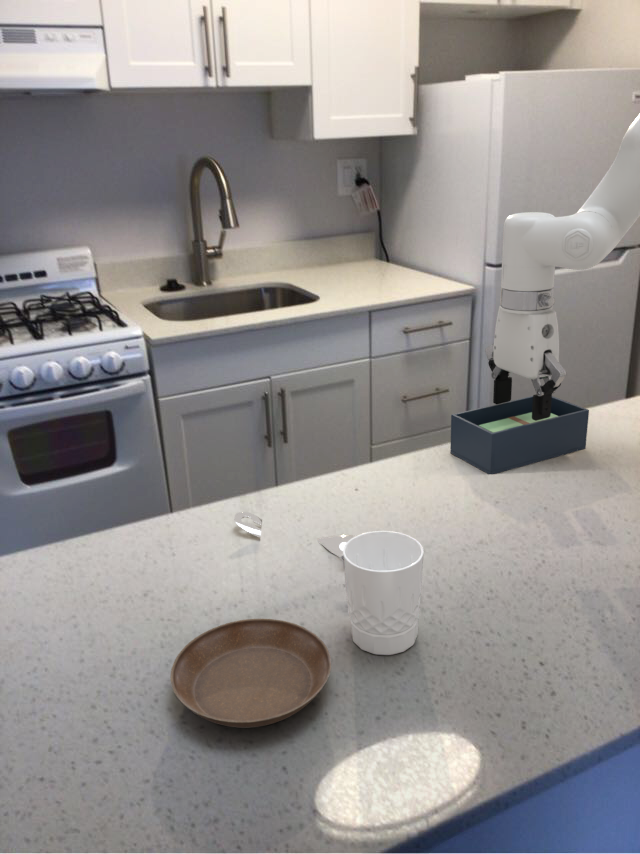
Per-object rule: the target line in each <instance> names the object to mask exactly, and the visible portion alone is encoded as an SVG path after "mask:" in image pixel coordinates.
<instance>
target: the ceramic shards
mask: <svg viewBox="0 0 640 854" xmlns="http://www.w3.org/2000/svg"><path fill="white" fill-rule="evenodd" d="M242 519H250V520H251V521H252V523H254V524H252V523H250V522H248V523H246V522H243V521H242ZM233 522H234V523H235V525H236V526H237V527H238V528H240V529H242V530H243V531H244V532H246V533H248V534H250V535H252V536H254V537H257V538H260V539H261V536H262V528H261V527H262V526H263V519H262V518H261V517H259V516H257V515H256V514H254V513H252V512H248V511H240V512H236V513H235V514H234V518H233ZM255 524H256V525H258V526H260V527H258V526H256V525H255ZM355 536H356V535H353V534H349V533H347V534H345V533H344V534H343V533H342V534H336V535H329V536H322V537H317V538H316V542H317V543H318V544H320V545H321V546H323V547H324V548H325V549H326V550H327V551H328V552H330V553H332V554H333V555H334V556H337V557H338V558H340V559H342V560H343V548H344V545H345V544H346V543H347V542H348V541H349V540H350V539H352V538H353V537H355Z"/></svg>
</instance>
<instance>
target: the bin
mask: <svg viewBox="0 0 640 854" xmlns="http://www.w3.org/2000/svg"><path fill="white" fill-rule="evenodd" d="M532 403H533V395H530V396H526V397H521V398H517V399H513V400H512V399H511V401H509V402H505V403H501V404H491V405H487V406H483V407H478V408H474V409H469V410H465V411H460V412H456V413H452V414H451V415H450V449H449V450H450V451H449V453H450V454H451V455H453V456H454V457H456V458H458V459H460V460H461V461H464V462H466V463H467V464H469V465H471V466H472V467H474V468H476V469H478V470H480V471H482V472H484V473H486V474H487V475H497V474H500V473H505V472H507V471H511V470H515V469H519V468H521V467H525V466H528V465H533V464H536V463H539V462H543V461H547V460H551V459H554V458H557V457H561V456H565V455H568V454H571V453H575V452H578V451H579V452H580V451H582V450H586V447H587V439H588V438H587V437H588V427H589V426H588V425H589V417H590V415H589V414H590V409H588V408H585V407H583V406H580V405H578V404H574V403H572V402H570V401H567V400H564V399H561V398H559V397H555V396H554V395H552V402H551V413H552V414H554V415H557V417H553V418H549V419H545V420H541V421H537V422H533V423H529V424H525V425H521V426H517V427H513V428H509V429H505V430H501V431H497V432H493V433H492V432H490V431H488V430H486V429H484V428H482V427H480V426H478V425H482V424H486V423H490V422H494V421H498V420H502V419H506V418H509V417H513V416H514V417H515V416H519V415H523V414H527V413H531V412H532Z"/></svg>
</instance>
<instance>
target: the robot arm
mask: <svg viewBox="0 0 640 854" xmlns="http://www.w3.org/2000/svg"><path fill="white" fill-rule="evenodd" d="M639 218H640V113H639V114H638V115H637V116H636V118H635V119H634V120H633V121H632V123H630V125H629V127H628V128H627V130H626V132H625V133H624V135H623V138H622V140H621V142H620V145H619V149H618V151H617V154H616V156H615V158H614V160H613V162H612V164H611V165H610V167H609V169H608V170H607V171H606V173H605V175H604V176H603V177H602V179H601V180H600V182H599V183H598V185H596V187H595V189H594V190H593V191H592V192H591V194H590V195H589V197H588V198H587V199H586V200H585V202H584V203H583V205H582V206H581V207H580V208H579V209H578V211H577V212H575V213H574V214H570V215H563V216H555V215H554V214H552V213H549V212H543V211H542V212H541V211H537V212H536V211H532V212H530V211H529V212H528V211H526V212H525V211H524V212H518V213H517V212H516V213H513V214H510V215H508V216H507V217H506V218H505V220H504V222H503V227H502V228H503V229H502V251H501V254H502V255H501V279H500V281H501V282H500V305H499V306H498V311H497V315H496V321H495V326H494V327H495V328H494V336H493V343H492V344H491V345H489V346H487V347H486V348H485V350H484V352H485V355H486V358H487V361H488V362H487V363H488V367H489V369H490V371H491V379H493V396H492V397H493V398H492V399H493V400H492V403H493V405H495V404H501V403H505V402H509V401H512V390H513V377H512V376H510V375H511V373H512V374H514V375H517V376H519V377H523V378H525V379H529V380H531V383H532V386H533V389H534V391H535V393H536V394H533V395H532V396H533V403H532V419H533V420H535V421H537V420H541V419H545V418H549V417H550V415H551V402H552V396H553V394H555V393H556V391H557V390H558V389H559V388H560V387H561V386H562V382H563V381H564V380H565V378H566V376H567V371H566V369H565V368H564V367H563V365H562V364H561V363H560V333H559V322H558V315H557V311H556V310H554V305H555V303H556V298H555V297H554V292H555V291H554V290H555V288H554V287H555V275H556V274H555V273H556V267H557V268H563V269H568V270H573V271H574V270H575V271H580V270H581V271H583V270H590V269H591V268H593V267H595V266H597V265H598V264H600V263H601V262H602V261H603V260H604V259H605V258H606V257H607V256H609V254H610V253H611V252H612V251H613V250H614V249H615V248H616V247H617V245H618V244H619V243H620V242H621V240H623V238H624V237H625V235H626V234H627V233H628V232H629V230H630V229H631V228H632V227H633V225H634V224H635V223H636V221H638V219H639ZM541 380H543V382H544V384H542V381H541Z"/></svg>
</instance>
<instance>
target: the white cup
mask: <svg viewBox="0 0 640 854" xmlns="http://www.w3.org/2000/svg"><path fill="white" fill-rule="evenodd" d="M354 536H355V537H353V538H352V539H350V540H349V541H348V542H347V543H346V544H345V545H344V548H343V559H342V560H343V569H344V570H343V571H344V583H345V592H346V604H347V612H348V616H349V623H350V633H351V638H352V642H353V643H354V645H356V646H357V647H358V648H359V649H360V650H362V651H365V652H367V653H370V654H373V655H379V656H392V655H396V654H400V653H404V652H405V651H407V650H409V648H410V649H411V647H412V646H414V645H415V642H416V640H417V637H418V633H419V618H420V612H421V599H422V589H423V588H422V587H423V571H424V570H423V569H424V556H425V555H424V553H425V552H424V551H425V549H424V547H423V545H422V544H421V542H420V541H419V540H418V539H416V538H415V537H413V536H412V535H409V534H406V533H404V532H399V531H392V530H374V531H373V530H372V531H366V532H363V533H360V534H358V535H354Z"/></svg>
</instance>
